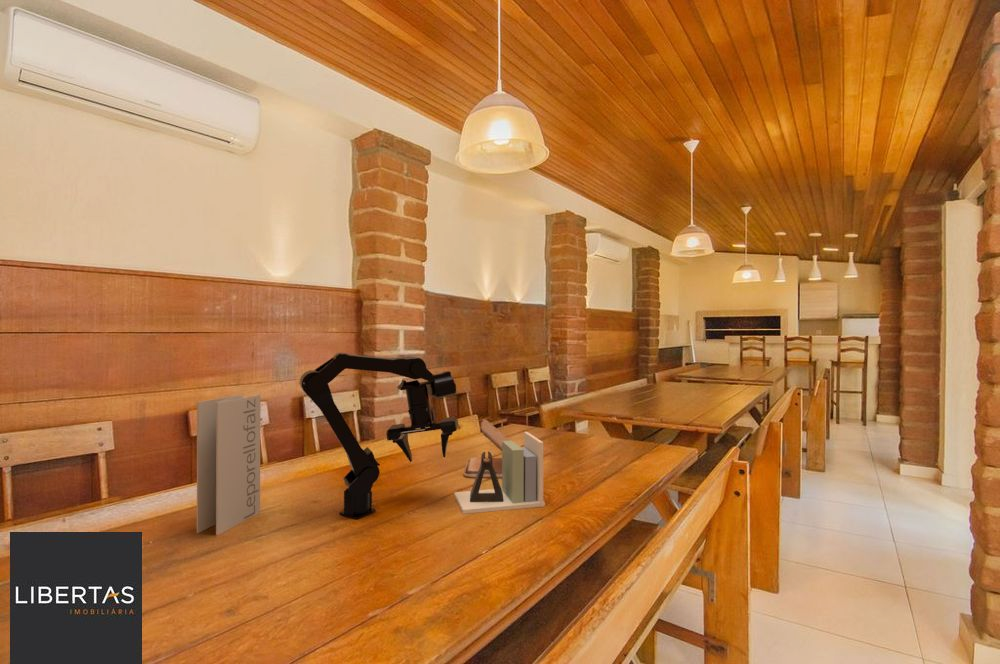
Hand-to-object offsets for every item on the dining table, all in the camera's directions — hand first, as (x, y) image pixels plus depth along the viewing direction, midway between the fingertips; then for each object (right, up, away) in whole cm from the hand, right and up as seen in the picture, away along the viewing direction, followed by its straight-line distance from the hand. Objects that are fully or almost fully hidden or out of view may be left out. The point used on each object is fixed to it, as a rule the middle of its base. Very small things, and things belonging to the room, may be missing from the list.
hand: (427, 459), depth 132 cm
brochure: (-46, -12, -14) cm, 49 cm away
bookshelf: (+19, -12, +1) cm, 22 cm away
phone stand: (+16, -11, 0) cm, 19 cm away
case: (+18, -12, +32) cm, 38 cm away
